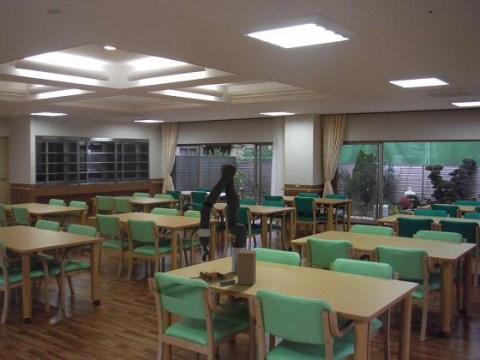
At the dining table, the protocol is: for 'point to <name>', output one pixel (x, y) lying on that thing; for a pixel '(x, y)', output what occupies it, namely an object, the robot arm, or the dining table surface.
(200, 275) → the walnut chute
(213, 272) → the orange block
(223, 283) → the bar
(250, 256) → the wooden block
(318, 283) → the dining table surface
